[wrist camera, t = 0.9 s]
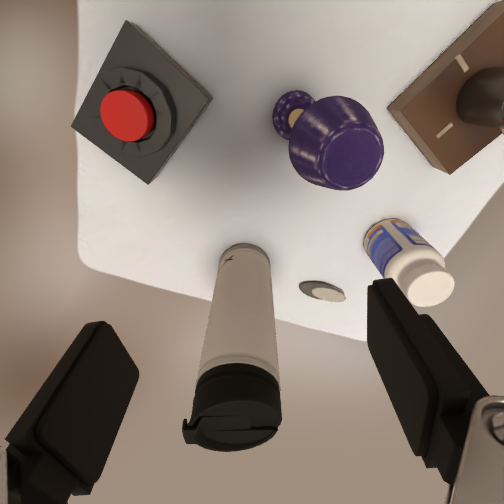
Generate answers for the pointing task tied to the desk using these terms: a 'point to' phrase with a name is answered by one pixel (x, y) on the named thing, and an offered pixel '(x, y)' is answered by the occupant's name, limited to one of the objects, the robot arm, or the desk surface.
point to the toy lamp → (329, 139)
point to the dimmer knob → (483, 99)
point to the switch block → (157, 94)
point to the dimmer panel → (452, 95)
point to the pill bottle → (409, 262)
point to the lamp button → (127, 115)
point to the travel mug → (238, 359)
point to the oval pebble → (322, 291)
